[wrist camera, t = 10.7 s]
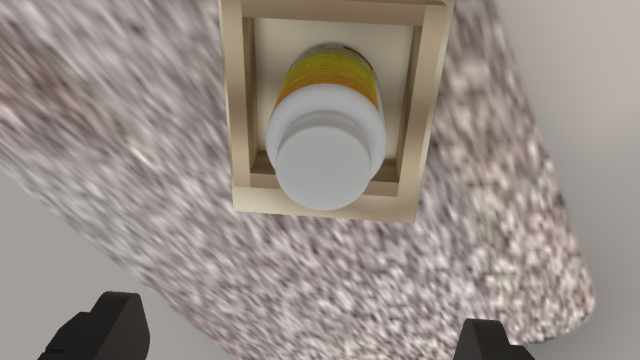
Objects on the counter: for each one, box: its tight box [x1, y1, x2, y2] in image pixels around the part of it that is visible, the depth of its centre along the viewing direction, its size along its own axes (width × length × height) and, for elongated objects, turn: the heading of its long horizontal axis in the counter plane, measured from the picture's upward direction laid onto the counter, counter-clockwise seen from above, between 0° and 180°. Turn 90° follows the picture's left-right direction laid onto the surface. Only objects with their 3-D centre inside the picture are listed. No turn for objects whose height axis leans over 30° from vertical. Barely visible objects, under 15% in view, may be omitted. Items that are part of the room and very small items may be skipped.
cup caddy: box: [218, 0, 455, 223], centre depth 26 cm, size 19×13×4 cm
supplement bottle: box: [266, 44, 387, 210], centre depth 22 cm, size 6×6×10 cm
